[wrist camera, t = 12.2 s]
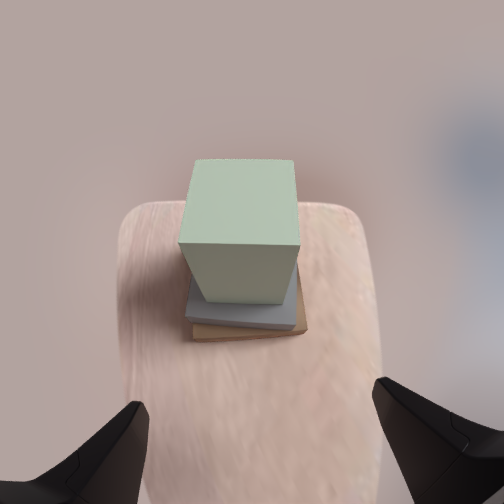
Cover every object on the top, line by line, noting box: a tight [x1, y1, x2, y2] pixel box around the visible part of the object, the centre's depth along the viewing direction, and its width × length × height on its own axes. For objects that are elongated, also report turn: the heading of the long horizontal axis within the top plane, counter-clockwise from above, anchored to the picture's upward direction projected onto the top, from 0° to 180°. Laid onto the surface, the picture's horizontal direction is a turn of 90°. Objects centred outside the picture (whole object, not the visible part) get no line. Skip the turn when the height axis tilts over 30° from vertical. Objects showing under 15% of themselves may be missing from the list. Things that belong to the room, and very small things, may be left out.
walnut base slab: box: [192, 265, 308, 342], centre depth 24 cm, size 9×9×2 cm
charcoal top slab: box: [185, 259, 297, 331], centre depth 22 cm, size 8×8×2 cm
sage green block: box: [178, 159, 300, 305], centre depth 17 cm, size 6×6×8 cm
